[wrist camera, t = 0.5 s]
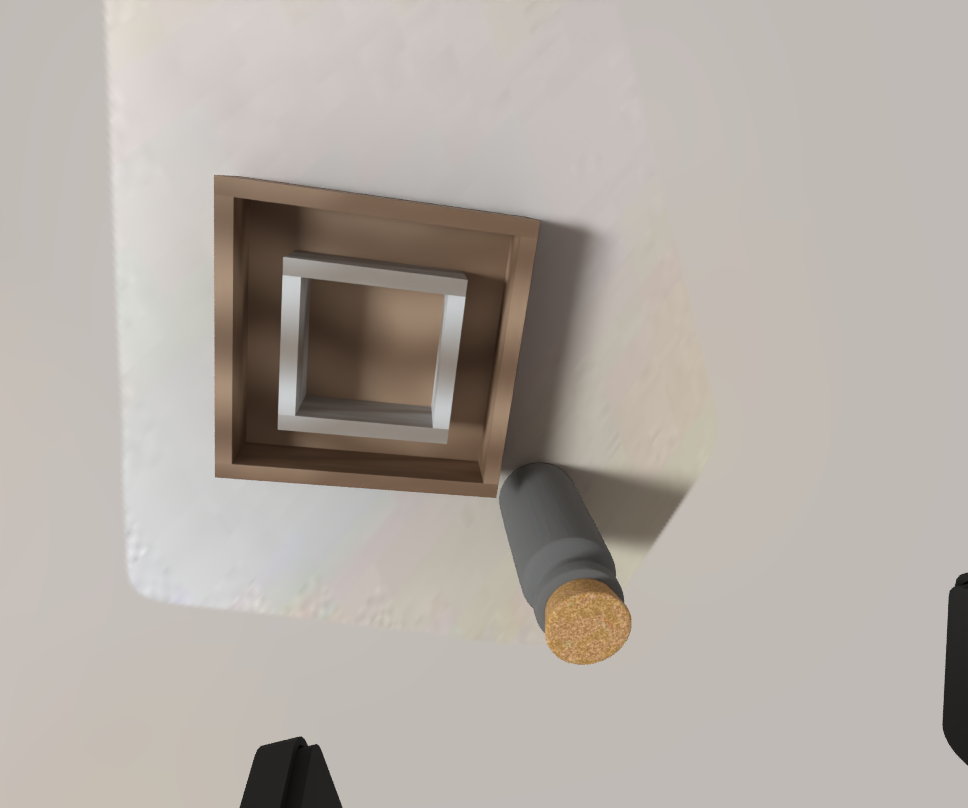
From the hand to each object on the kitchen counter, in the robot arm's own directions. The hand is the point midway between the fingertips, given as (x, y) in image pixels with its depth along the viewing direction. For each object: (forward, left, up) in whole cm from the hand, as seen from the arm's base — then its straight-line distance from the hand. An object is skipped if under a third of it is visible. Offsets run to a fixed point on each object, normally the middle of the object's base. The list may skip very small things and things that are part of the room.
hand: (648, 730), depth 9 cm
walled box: (+3, -6, -35) cm, 35 cm away
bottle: (+14, +7, -35) cm, 38 cm away
